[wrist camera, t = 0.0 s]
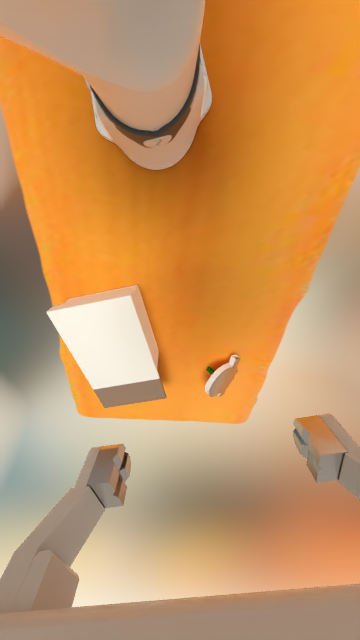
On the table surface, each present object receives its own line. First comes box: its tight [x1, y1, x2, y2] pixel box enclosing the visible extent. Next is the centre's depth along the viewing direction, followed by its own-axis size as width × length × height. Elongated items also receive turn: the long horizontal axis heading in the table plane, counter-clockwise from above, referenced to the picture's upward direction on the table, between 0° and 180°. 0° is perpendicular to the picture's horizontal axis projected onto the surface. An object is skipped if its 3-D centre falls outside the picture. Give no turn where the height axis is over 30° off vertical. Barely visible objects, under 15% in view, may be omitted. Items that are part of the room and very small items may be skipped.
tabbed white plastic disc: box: [205, 354, 240, 397], centre depth 57 cm, size 15×8×11 cm
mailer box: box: [64, 285, 159, 368], centre depth 48 cm, size 20×17×8 cm
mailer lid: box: [47, 291, 166, 408], centre depth 47 cm, size 30×17×3 cm, turn 11°
